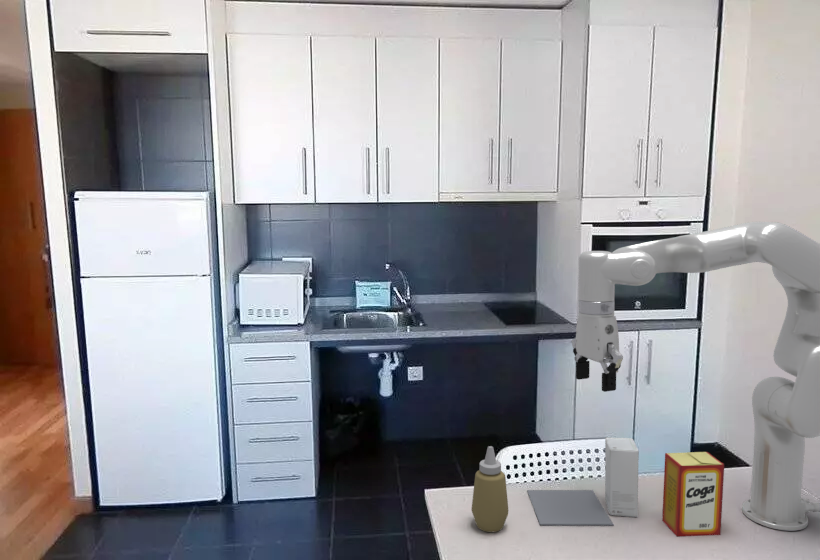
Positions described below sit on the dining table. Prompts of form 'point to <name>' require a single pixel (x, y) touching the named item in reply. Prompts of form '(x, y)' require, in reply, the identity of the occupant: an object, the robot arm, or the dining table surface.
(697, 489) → the baking soda box
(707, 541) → the dining table surface
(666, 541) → the dining table surface
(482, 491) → the squeeze bottle
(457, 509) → the dining table surface
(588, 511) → the mat
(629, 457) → the skincare box
